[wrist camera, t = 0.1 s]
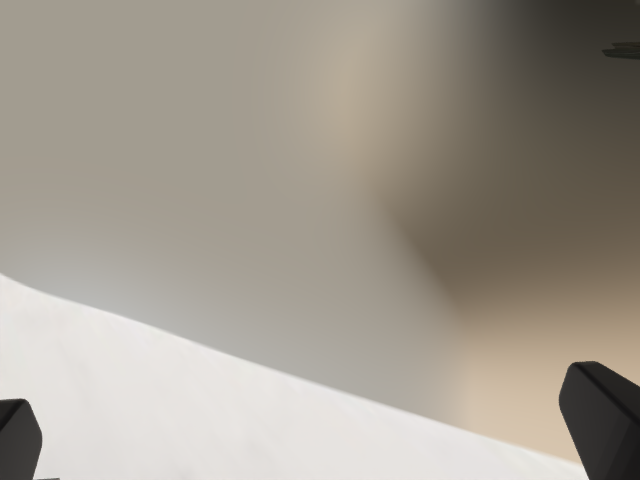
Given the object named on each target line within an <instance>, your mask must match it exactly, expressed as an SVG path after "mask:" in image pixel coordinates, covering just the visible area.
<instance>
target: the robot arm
mask: <svg viewBox="0 0 640 480" xmlns="http://www.w3.org/2000/svg"><path fill="white" fill-rule="evenodd" d="M559 406H560V410H561V413H562V415H563V418H564V420H565V422H566V425H567V427H568V430H569V432H570V435H571V437H572V439H573V442H574V444H575V447H576V449H577V451H578V454H579V456H580V458H581V461H582V464H583V466H584V468H585V471H586V473H587V476H588V478H589V480H640V387H639V386H638V385H636V384H634V383H633V382H631V381H629V380H628V379H626V378H624V377H623V376H621V375H619V374H618V373H616V372H614V371H612V370H611V369H609V368H607V367H606V366H604V365H602V364H600V363H598V362H595V361H586V362H575V363H572V364H571V365H570V366H569V368H568V370H567V373H566V376H565V379H564V382H563V385H562V388H561V391H560V394H559ZM41 448H42V433H41V430H40V427H39V425H38V422H37V420H36V418H35V415H34V413H33V410H32V408H31V406H30V404H29V402H28V401H27V400H25V399H6V400H0V480H33V476H34V473H35V469H36V466H37V462H38V459H39V455H40V451H41Z"/></svg>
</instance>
